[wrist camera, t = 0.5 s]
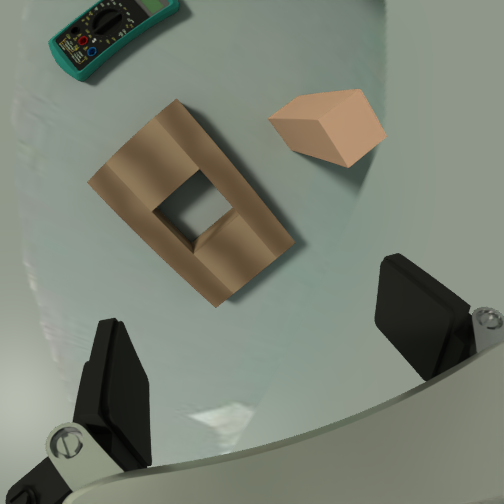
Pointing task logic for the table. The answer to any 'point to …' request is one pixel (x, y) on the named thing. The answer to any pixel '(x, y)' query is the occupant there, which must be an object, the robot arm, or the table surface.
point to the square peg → (330, 126)
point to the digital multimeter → (105, 32)
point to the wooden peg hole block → (167, 181)
